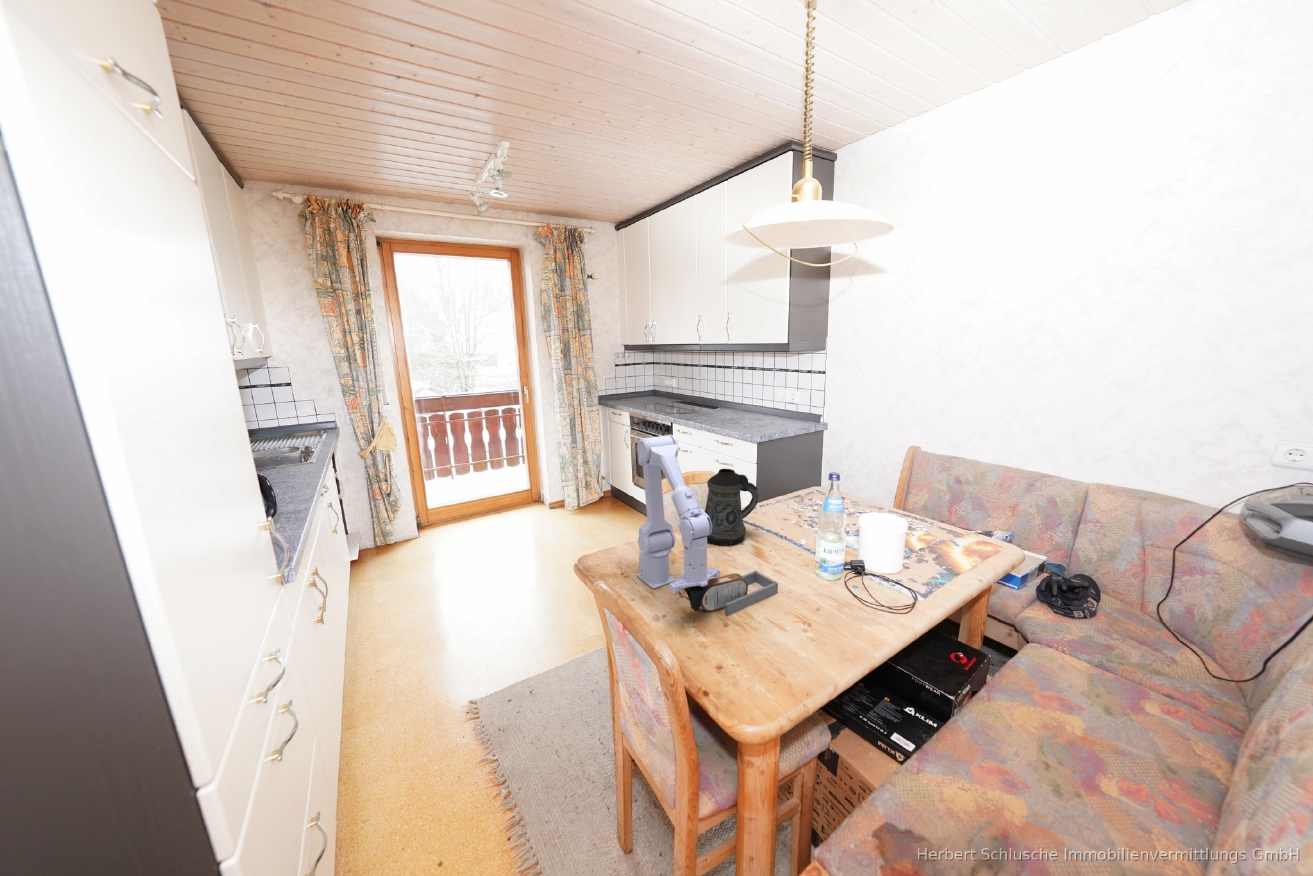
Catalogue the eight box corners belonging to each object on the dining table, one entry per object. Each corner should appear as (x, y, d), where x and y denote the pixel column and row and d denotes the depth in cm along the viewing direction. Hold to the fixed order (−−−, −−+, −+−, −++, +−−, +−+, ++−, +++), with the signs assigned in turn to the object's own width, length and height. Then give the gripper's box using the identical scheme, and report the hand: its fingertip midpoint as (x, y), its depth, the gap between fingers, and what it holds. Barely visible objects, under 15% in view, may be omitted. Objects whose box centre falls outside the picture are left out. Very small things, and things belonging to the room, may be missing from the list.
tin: (742, 596, 127) (743, 569, 125) (749, 602, 124) (750, 574, 122) (694, 610, 121) (695, 581, 119) (700, 616, 118) (700, 587, 116)
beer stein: (692, 531, 170) (692, 466, 165) (739, 523, 176) (741, 461, 170) (710, 550, 155) (711, 479, 149) (761, 541, 160) (764, 473, 155)
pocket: (705, 600, 125) (706, 590, 125) (755, 579, 135) (755, 570, 135) (727, 615, 118) (727, 605, 118) (777, 592, 128) (778, 583, 128)
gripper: (681, 575, 108) (681, 626, 111) (728, 559, 115) (727, 607, 118) (664, 563, 113) (665, 612, 116) (710, 548, 121) (709, 594, 124)
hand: (695, 609), depth 118 cm, fingers closed
